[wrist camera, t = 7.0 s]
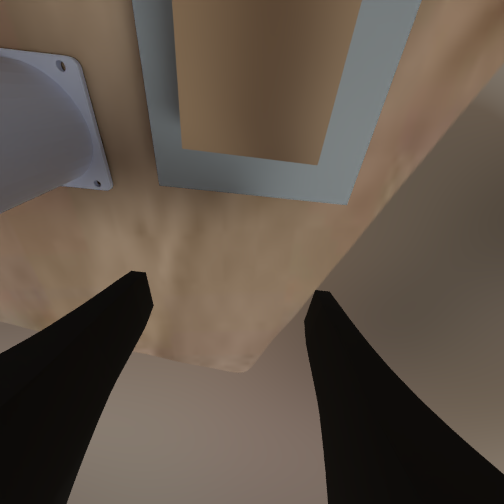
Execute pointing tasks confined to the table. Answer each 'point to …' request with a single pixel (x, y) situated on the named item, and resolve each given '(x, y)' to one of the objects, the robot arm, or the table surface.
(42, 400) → the robot arm
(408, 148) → the table surface
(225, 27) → the walnut cube
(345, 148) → the base block
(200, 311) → the table surface
